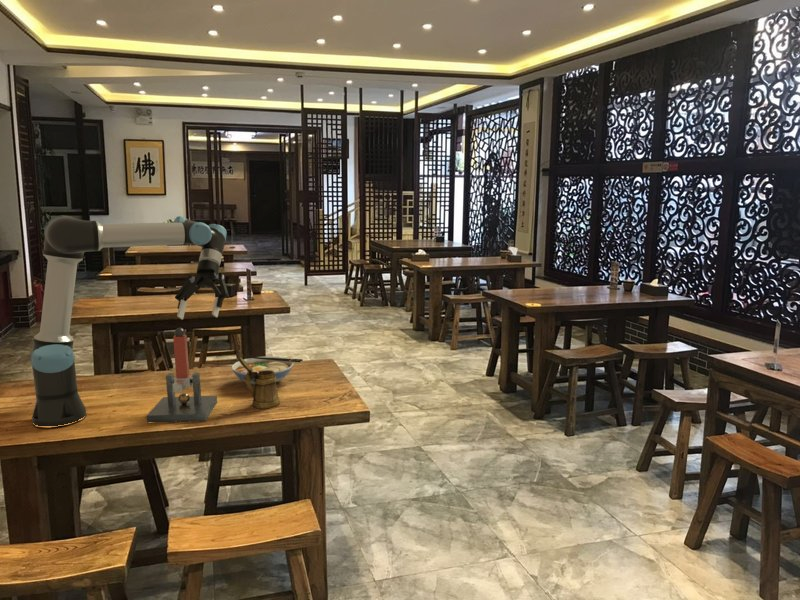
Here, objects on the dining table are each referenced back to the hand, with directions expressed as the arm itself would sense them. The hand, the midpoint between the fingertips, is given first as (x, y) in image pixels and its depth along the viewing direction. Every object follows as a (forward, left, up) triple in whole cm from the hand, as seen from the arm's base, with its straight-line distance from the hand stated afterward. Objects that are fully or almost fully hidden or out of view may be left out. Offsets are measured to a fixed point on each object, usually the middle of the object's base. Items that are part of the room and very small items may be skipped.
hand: (197, 316), depth 214 cm
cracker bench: (-2, -17, -28) cm, 33 cm away
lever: (-2, -17, -20) cm, 27 cm away
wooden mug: (+22, -12, -29) cm, 38 cm away
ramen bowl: (+20, +11, -29) cm, 37 cm away
